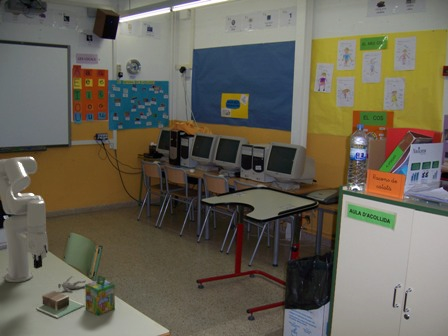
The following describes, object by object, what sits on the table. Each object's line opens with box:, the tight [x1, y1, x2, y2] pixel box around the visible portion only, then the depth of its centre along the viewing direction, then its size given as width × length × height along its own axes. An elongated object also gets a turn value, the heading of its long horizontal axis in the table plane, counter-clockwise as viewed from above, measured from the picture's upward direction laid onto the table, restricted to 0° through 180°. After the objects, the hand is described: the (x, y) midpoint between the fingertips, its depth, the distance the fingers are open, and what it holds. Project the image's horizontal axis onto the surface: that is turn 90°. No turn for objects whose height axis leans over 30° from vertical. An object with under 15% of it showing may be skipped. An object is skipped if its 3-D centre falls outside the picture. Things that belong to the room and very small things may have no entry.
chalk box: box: [84, 274, 116, 316], centre depth 203 cm, size 9×9×15 cm
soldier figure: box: [58, 276, 86, 293], centre depth 223 cm, size 8×5×12 cm
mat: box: [35, 298, 85, 320], centre depth 204 cm, size 14×14×1 cm
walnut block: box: [41, 290, 70, 310], centre depth 206 cm, size 4×6×10 cm
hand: (38, 267), depth 210 cm, fingers closed
